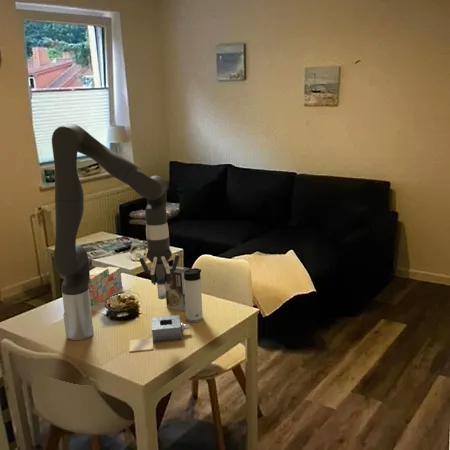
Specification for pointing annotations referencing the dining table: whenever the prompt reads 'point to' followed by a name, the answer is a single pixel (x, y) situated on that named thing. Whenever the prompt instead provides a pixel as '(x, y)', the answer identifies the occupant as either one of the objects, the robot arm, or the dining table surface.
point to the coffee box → (176, 289)
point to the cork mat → (141, 345)
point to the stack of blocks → (103, 283)
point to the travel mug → (193, 295)
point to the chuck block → (167, 328)
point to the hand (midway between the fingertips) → (161, 283)
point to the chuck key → (160, 280)
